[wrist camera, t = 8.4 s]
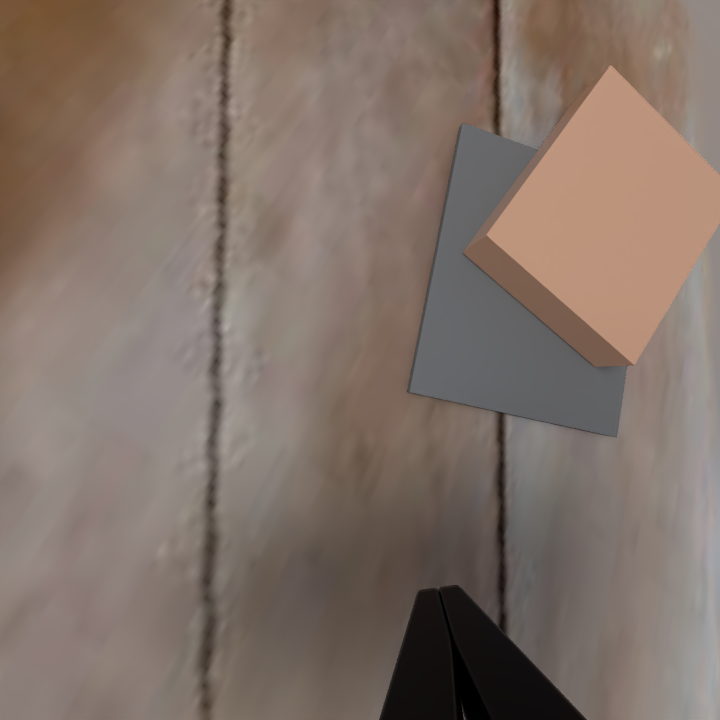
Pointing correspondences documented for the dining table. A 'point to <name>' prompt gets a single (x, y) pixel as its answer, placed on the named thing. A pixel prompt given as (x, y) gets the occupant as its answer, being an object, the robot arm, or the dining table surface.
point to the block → (602, 223)
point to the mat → (499, 315)
